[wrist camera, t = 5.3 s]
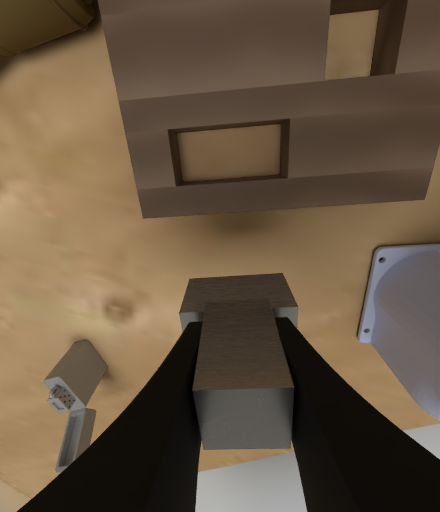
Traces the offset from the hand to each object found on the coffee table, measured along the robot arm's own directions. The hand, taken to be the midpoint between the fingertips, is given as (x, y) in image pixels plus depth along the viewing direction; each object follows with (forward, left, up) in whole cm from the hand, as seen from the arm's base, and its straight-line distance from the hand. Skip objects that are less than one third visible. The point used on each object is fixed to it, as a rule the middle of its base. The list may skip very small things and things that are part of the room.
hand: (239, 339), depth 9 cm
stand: (+9, -3, -10) cm, 14 cm away
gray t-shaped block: (0, 0, -4) cm, 4 cm away
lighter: (-13, +15, -11) cm, 22 cm away
